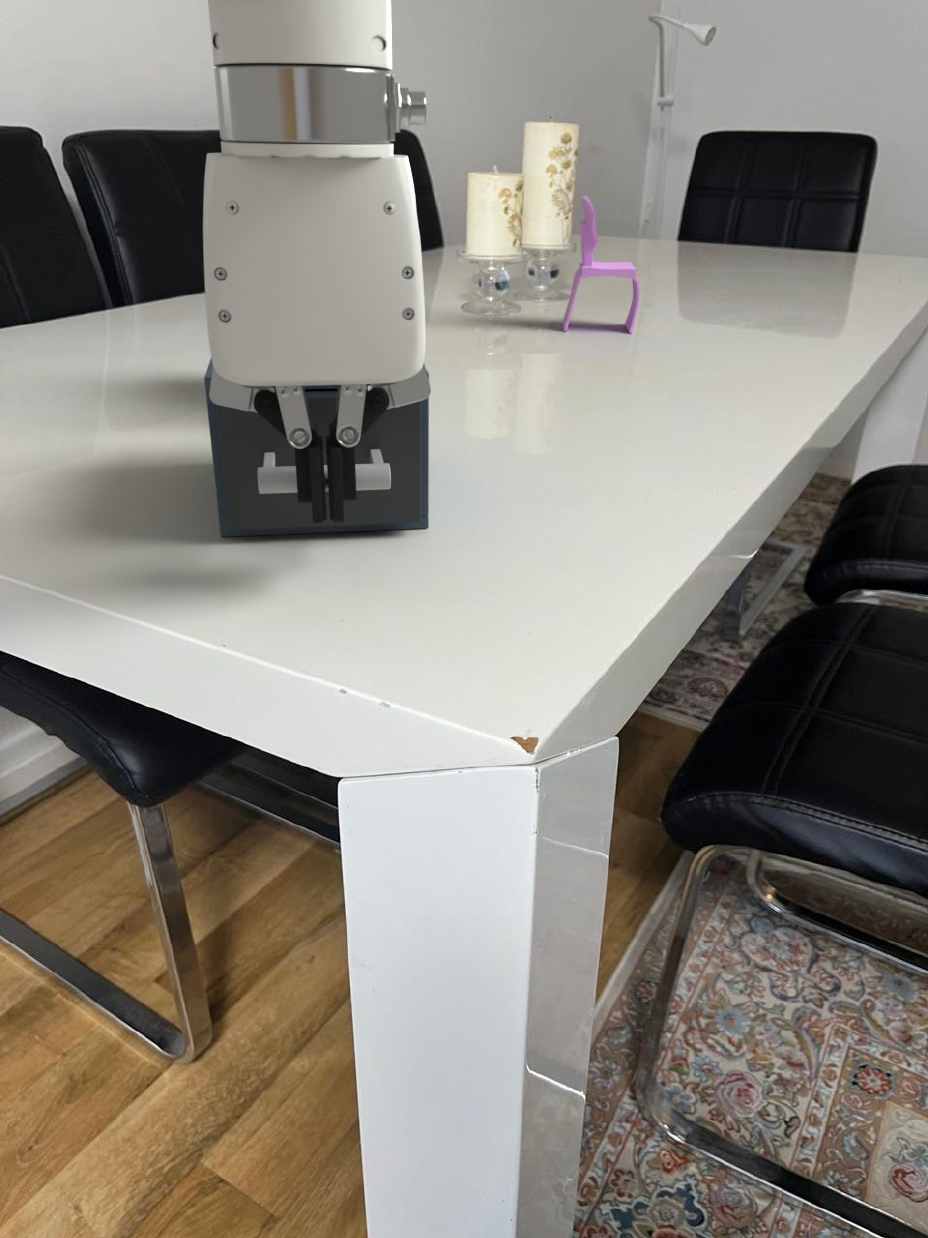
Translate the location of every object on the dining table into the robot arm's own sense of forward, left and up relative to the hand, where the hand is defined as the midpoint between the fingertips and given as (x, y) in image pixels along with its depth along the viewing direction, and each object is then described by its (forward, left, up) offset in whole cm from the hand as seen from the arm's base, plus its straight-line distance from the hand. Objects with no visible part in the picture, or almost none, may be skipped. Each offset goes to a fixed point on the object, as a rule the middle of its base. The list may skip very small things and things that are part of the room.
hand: (328, 513), depth 50 cm
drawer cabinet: (+7, +13, -4) cm, 15 cm away
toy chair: (+66, +44, -4) cm, 80 cm away
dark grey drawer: (+5, +9, -3) cm, 11 cm away
